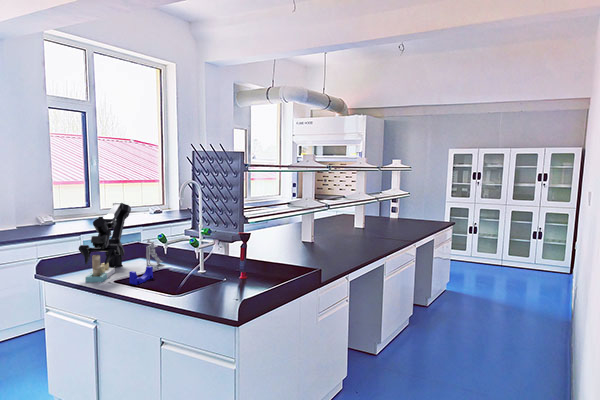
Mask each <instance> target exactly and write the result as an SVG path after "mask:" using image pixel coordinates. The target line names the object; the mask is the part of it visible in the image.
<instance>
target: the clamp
mask: <svg viewBox="0 0 600 400" xmlns="http://www.w3.org/2000/svg"><path fill="white" fill-rule="evenodd" d="M146 243H147V244H149V245H147V246H146V247H145V248H146V253H145V256H146V267H147V266H150V267H156V266H159V265H160V264H161V263H163V262H164V260H161V259H160V258H159V257H160V256H158V254H157V252H156V248H157V247H159V245H158V244H156V245H155V244H154V243H155V242H154V241H152V240H150V238H148V239H147V242H146ZM151 257H152V258H154V261H155V263H154V262H153V263H151ZM149 264H150V265H149Z"/></svg>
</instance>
